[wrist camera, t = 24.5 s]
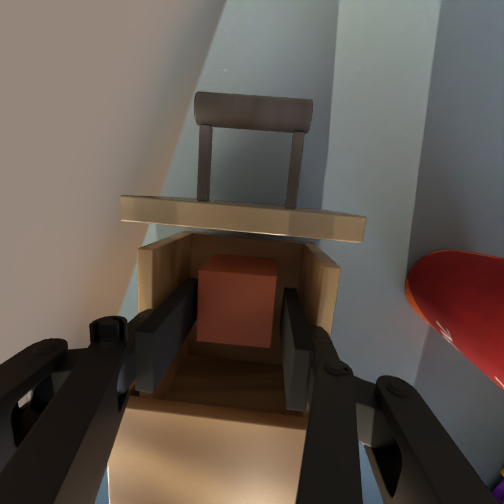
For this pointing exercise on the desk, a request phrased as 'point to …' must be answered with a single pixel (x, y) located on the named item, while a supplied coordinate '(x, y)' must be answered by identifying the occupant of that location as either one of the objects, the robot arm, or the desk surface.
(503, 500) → the purple toy playset
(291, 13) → the desk surface
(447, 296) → the coffee cup
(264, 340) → the block
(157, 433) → the cabinet
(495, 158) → the desk surface
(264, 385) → the drawer
